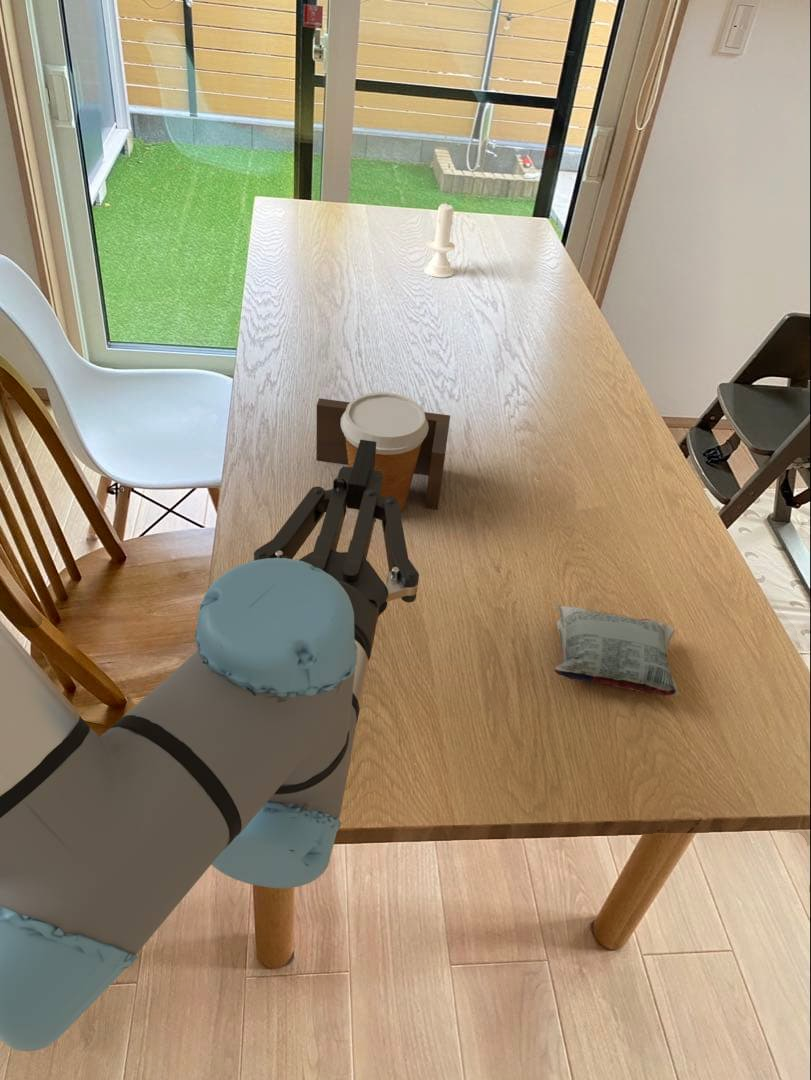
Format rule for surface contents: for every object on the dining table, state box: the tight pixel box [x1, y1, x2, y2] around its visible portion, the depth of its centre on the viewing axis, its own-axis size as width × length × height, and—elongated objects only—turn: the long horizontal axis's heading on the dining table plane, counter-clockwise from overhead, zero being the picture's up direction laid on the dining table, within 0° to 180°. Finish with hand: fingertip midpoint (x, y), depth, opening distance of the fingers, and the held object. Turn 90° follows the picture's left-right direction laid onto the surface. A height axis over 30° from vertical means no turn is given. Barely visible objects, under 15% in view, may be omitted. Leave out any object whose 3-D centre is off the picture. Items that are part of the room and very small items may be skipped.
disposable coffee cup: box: [341, 392, 429, 513], centre depth 88 cm, size 10×10×12 cm
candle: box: [423, 201, 456, 279], centre depth 136 cm, size 5×5×12 cm
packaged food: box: [553, 601, 681, 697], centre depth 74 cm, size 9×12×5 cm
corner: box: [315, 397, 451, 510], centre depth 92 cm, size 8×16×8 cm, turn 83°
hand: (367, 452), depth 72 cm, fingers closed
